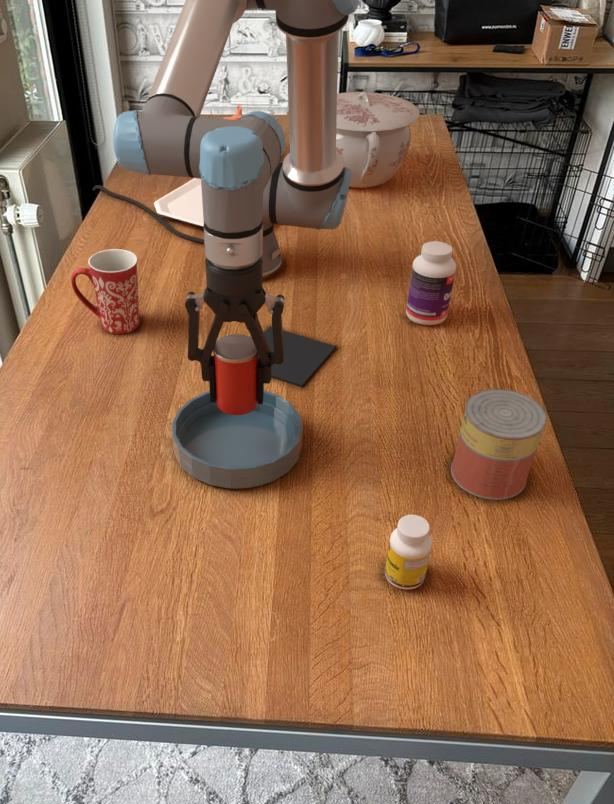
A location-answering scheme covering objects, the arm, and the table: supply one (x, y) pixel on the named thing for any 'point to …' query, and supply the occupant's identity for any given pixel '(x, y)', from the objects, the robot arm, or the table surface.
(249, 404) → the tin can
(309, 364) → the mat
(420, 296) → the pill bottle
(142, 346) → the table surface
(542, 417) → the canned food
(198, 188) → the plate
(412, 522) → the supplement bottle
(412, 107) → the chamber pot
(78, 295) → the mug
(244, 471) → the dish
